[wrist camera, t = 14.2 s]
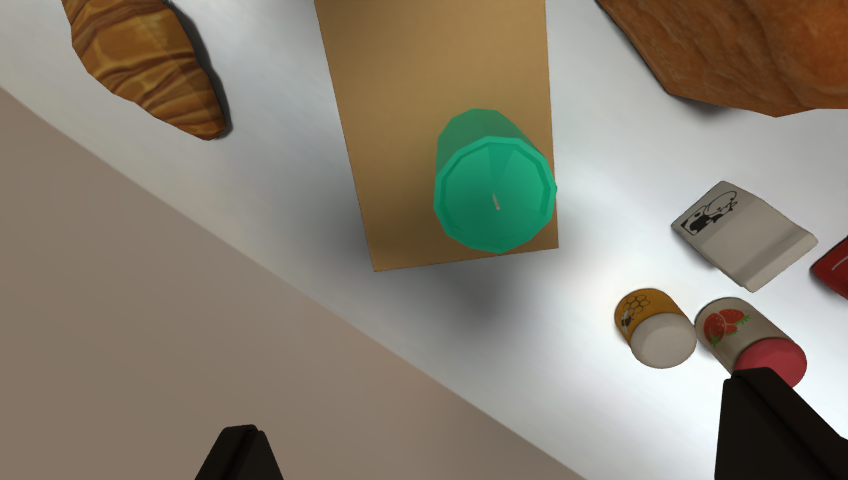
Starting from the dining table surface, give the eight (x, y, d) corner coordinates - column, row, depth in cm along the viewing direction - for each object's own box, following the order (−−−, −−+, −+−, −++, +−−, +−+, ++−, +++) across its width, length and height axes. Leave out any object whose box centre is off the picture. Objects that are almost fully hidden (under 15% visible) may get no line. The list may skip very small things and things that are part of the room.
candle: (417, 146, 32) (404, 199, 21) (487, 87, 31) (513, 112, 20) (471, 210, 34) (485, 290, 23) (540, 158, 32) (591, 217, 21)
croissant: (39, -20, 29) (-36, -32, 25) (113, -91, 28) (48, -118, 23) (190, 160, 33) (150, 179, 29) (262, 107, 32) (231, 118, 27)
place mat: (310, -19, 29) (309, -19, 29) (540, -63, 28) (541, -64, 27) (374, 270, 36) (374, 271, 36) (558, 247, 35) (558, 248, 35)
